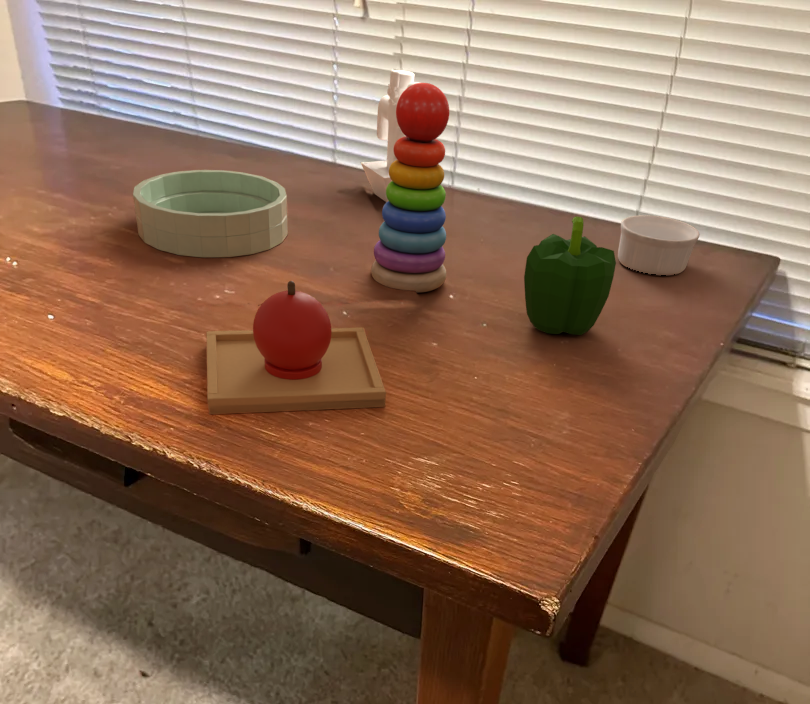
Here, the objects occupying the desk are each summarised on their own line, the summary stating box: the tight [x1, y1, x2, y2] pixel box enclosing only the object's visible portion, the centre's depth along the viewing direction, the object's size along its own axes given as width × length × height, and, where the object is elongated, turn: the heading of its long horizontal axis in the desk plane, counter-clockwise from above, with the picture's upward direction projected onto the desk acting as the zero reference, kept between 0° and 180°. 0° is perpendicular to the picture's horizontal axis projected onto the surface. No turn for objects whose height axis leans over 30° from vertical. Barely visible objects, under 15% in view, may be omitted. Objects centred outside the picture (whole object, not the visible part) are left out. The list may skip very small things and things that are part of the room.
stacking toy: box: [370, 82, 450, 294], centre depth 81 cm, size 8×8×19 cm
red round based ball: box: [252, 280, 332, 380], centre depth 66 cm, size 6×6×7 cm
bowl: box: [132, 169, 289, 258], centre depth 92 cm, size 17×17×5 cm
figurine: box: [360, 68, 421, 203], centre depth 105 cm, size 7×9×15 cm
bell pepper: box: [523, 216, 617, 336], centre depth 77 cm, size 8×8×10 cm
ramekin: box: [617, 214, 701, 276], centre depth 94 cm, size 9×9×4 cm
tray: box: [205, 327, 387, 415], centre depth 69 cm, size 14×12×1 cm
